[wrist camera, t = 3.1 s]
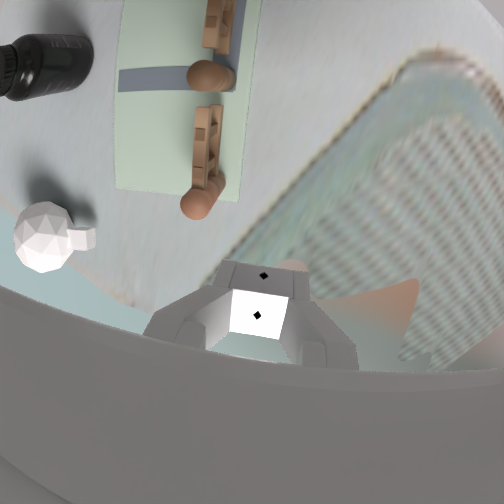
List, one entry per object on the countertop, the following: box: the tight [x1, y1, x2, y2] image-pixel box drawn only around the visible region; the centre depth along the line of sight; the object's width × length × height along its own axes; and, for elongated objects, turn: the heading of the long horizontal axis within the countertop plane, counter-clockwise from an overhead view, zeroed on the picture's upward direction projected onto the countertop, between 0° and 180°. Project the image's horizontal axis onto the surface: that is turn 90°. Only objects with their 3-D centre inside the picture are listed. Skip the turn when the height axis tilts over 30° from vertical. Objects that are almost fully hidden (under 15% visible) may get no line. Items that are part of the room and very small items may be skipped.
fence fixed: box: [186, 0, 237, 92], centre depth 17 cm, size 12×2×7 cm, turn 174°
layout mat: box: [114, 0, 262, 202], centre depth 23 cm, size 24×14×1 cm, turn 174°
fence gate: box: [180, 104, 226, 220], centre depth 23 cm, size 9×2×6 cm, turn 174°
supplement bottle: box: [0, 34, 93, 101], centre depth 17 cm, size 7×7×12 cm
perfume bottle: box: [13, 201, 96, 273], centre depth 30 cm, size 9×9×12 cm
